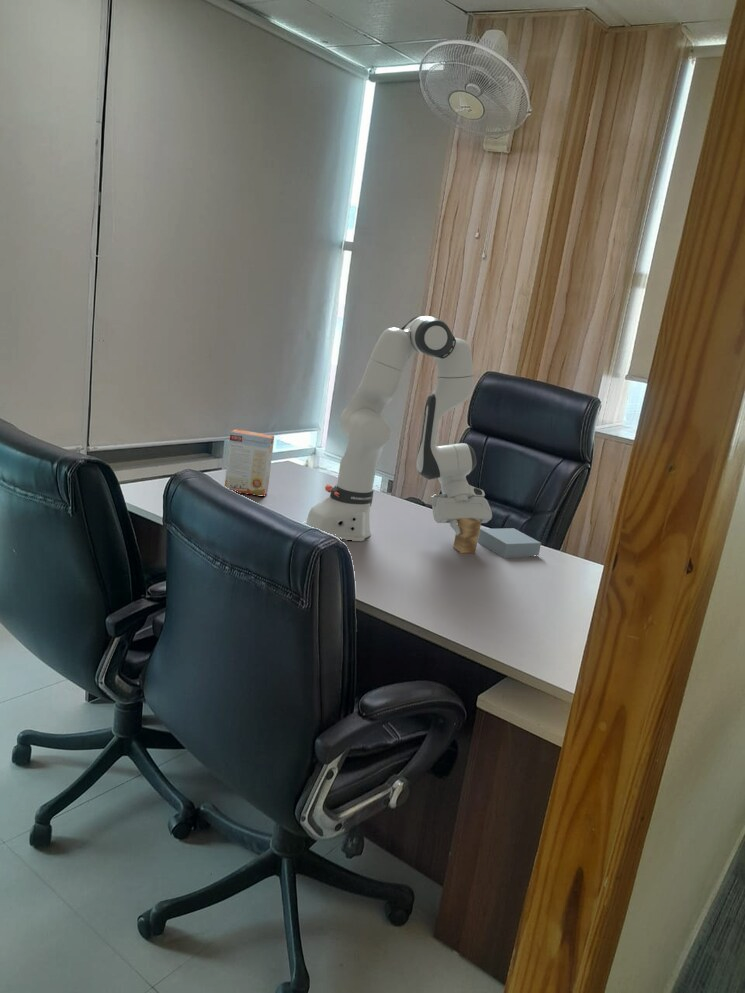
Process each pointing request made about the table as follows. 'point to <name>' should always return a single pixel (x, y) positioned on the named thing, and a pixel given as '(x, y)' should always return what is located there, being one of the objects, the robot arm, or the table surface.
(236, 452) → the cracker box
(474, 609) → the table surface
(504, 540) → the grey base block
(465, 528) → the oak block
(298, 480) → the table surface
